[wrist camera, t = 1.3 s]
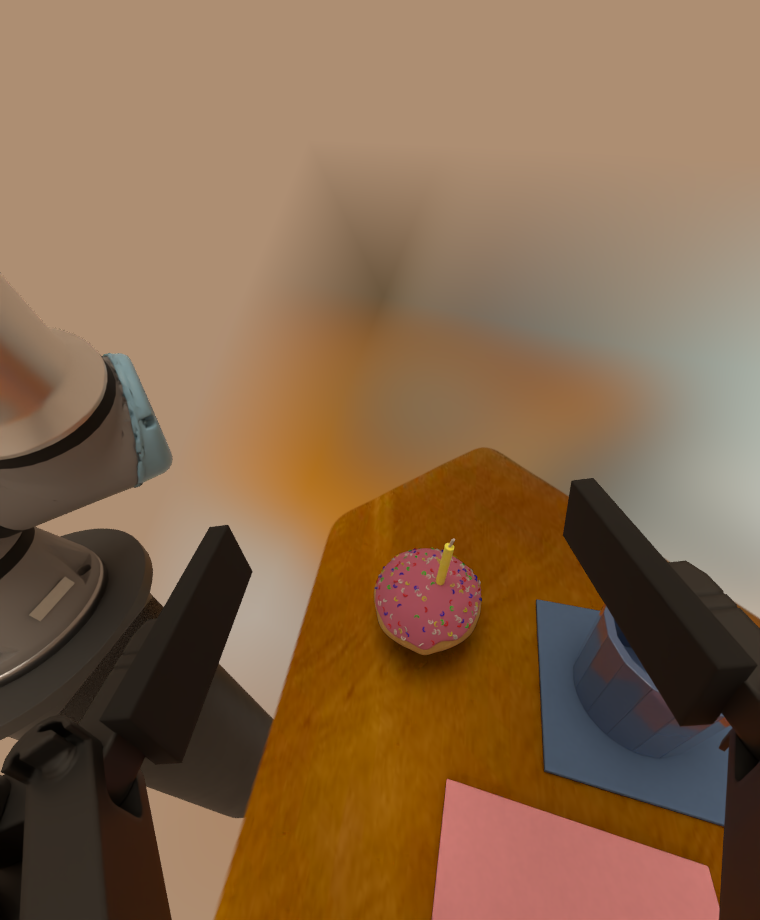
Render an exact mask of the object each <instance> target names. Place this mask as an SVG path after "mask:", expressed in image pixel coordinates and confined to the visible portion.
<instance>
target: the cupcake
mask: <svg viewBox="0 0 760 920" xmlns="http://www.w3.org/2000/svg"><path fill="white" fill-rule="evenodd" d="M454 541H455V539H452V540H451V542H450V543H446V544H445V547H444V550H442V551H440V550H439V549H433V548H432V547H431V549H416V548H414V549H413V550H409V551H407V552H404V553H401V554H399V555H396V556H395V557H394V558H393V559H392V560H391V561H390V562H389V563H388V564H387V565H386V566H385V567H383V570H382V572H381V574H380V575H379V576H378V579H377V581H376V585H375V589H374V602H375V608H376V612H377V617H378V622H379V625H380V627H381V628H382V630H383V631H384V632H385V634H386V635H388V636H389V637H390V638H391V639H393V640H394V641H395V642H397V643H399V644H401V645H402V646H404V647H406V648H408V649H410V650H412V651H415V652H417V653H419V654H422V655H429V654H432V653H435V652H439V651H443V650H446V649H448V648H451V647H453V646H456V645H458V644H459V643H461V642H463V641H464V640H465V639H466V638H467V637H468V636H469V635H470V634H471V633H472V632H473V630H474V628H475V626H476V623H477V621H478V618H479V615H480V610H481V601H482V598H481V588H480V580H477V576H476V575H474V574H473V571H472V569H469V568H468V567H467V566H466V565H465V564H464V563H462V562H461V561H460V560H458V559H457V557H456V556H452V555H453V551H454V545H453V542H454Z"/></svg>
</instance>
